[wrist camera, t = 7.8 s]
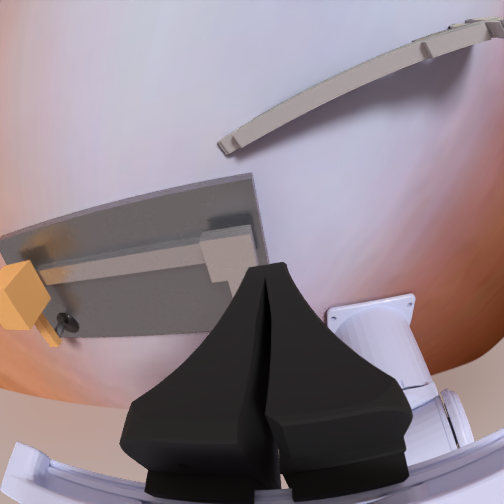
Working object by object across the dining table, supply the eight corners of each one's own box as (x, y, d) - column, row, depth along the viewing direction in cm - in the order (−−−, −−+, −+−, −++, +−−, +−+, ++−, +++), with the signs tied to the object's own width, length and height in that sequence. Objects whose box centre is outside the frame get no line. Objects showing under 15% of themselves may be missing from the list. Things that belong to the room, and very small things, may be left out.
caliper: (466, 18, 12) (524, 14, 7) (473, 31, 12) (532, 31, 7) (217, 140, 18) (199, 169, 13) (227, 154, 19) (214, 188, 13)
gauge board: (278, 313, 25) (280, 344, 22) (56, 329, 28) (43, 351, 25) (252, 172, 19) (250, 191, 16) (2, 235, 22) (-19, 254, 19)
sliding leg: (78, 328, 25) (58, 367, 21) (51, 329, 26) (31, 364, 22) (35, 254, 21) (3, 289, 17) (9, 260, 21) (-20, 293, 17)
